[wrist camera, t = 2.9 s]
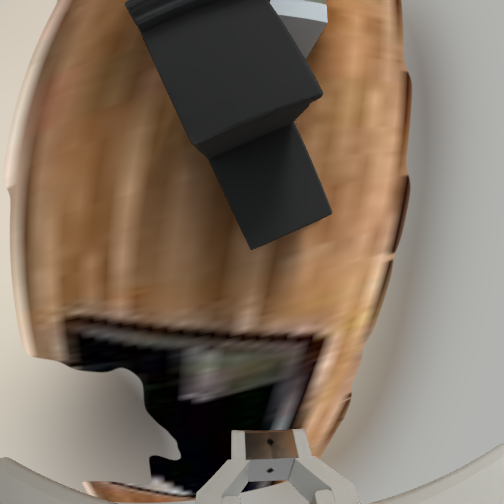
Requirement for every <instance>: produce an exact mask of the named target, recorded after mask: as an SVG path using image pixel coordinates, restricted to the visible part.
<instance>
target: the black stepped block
mask: <svg viewBox="0 0 504 504" xmlns="http://www.w3.org/2000/svg"><path fill="white" fill-rule="evenodd" d="M125 6H126V8H127V9H128V11H129V14H130V15H131V17H132V19H133V20H134V22H135V23H136V25H137V26H138V28H139V30H140V31H141V34H142V36H143V39H144V41H145V43H146V46H147V48H148V50H149V52H150V54H151V57H152V59H153V61H154V63H155V65H156V68H157V70H158V72H159V75H160V77H161V79H162V81H163V83H164V85H165V88H166V90H167V92H168V94H169V97H170V99H171V101H172V103H173V105H174V107H175V109H176V112H177V114H178V116H179V118H180V120H181V122H182V124H183V127H184V129H185V131H186V133H187V135H188V137H189V139H190V141H191V143H192V144H193V145H194V146H195V147H196V148H197V149H198V150H199V151H200V152H201V153H203V154H204V155H205V156H206V157H207V158H208V160H209V162H210V164H211V166H212V168H213V170H214V173H215V175H216V177H217V179H218V181H219V183H220V185H221V187H222V190H223V192H224V194H225V196H226V198H227V200H228V202H229V205H230V207H231V209H232V211H233V213H234V215H235V217H236V219H237V222H238V224H239V226H240V228H241V230H242V232H243V234H244V236H245V239H246V241H247V243H248V245H249V247H250V249H251V250H253V249H256V248H258V247H260V246H262V245H265V244H267V243H269V242H271V241H274V240H276V239H278V238H280V237H282V236H285V235H287V234H289V233H291V232H293V231H296V230H298V229H300V228H302V227H304V226H307V225H309V224H311V223H313V222H316V221H318V220H320V219H322V218H324V217H327V216H329V215H331V214H332V210H331V207H330V205H329V202H328V200H327V197H326V195H325V192H324V190H323V187H322V185H321V182H320V180H319V177H318V175H317V172H316V170H315V168H314V165H313V163H312V161H311V158H310V156H309V154H308V152H307V149H306V147H305V145H304V143H303V141H302V138H301V136H300V134H299V132H298V130H297V128H296V125H295V123H294V120H295V119H296V118H297V117H298V116H299V115H300V114H301V113H302V112H303V111H304V110H305V109H306V108H307V107H308V106H309V104H310V103H311V102H312V101H315V100H317V99H319V98H320V97H321V96H322V95H323V91H322V89H321V87H320V86H319V84H318V82H317V80H316V78H315V76H314V74H313V72H312V71H311V69H310V67H309V65H308V63H307V61H306V60H305V58H304V56H303V54H302V53H301V51H300V49H299V47H298V46H297V44H296V42H295V41H294V39H293V37H292V36H291V34H290V33H289V31H288V29H287V28H286V26H285V25H284V23H283V21H282V20H281V19H280V17H279V15H278V14H277V12H276V11H275V10H274V8H273V7H272V5H271V4H270V0H129V1H127V2H125Z"/></svg>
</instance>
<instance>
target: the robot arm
mask: <svg viewBox="0 0 504 504" xmlns="http://www.w3.org/2000/svg"><path fill="white" fill-rule="evenodd" d="M274 480H288V481H289V482H290V483H291V484H292V485H293V486H294V487H295V488H296V489H297V490H298V491H299V492H300V493H301V494H302V495H303V496H304V497H305V498H306V499H307V500H308V501H309V502H310V504H360V501H359V498H358V496H357V493H356V490H355V488H354V485H353V483H351V482H350V481H348V480H347V479H345V478H344V477H343V476H341V475H340V474H338V473H337V472H336V471H334V470H333V469H332V468H330V467H329V466H328V465H326V464H325V463H324V462H322V461H321V460H320V459H318V458H317V457H316V456H312V454H311V451H310V447H309V443H308V440H307V436H306V432H305V430H304V429H292V430H291V429H289V430H271V431H238V430H232V443H231V460H227V461H226V463H225V464H224V465H223V466H222V467H221V468H220V469H219V470H218V471H217V472H216V473H215V474H214V476H213V477H212V478H211V479H210V480H209V481H208V482H207V483H206V484H205V485H204V486H203V487H202V488H201V489H200V490H199V491H198V492H197V494H196V504H241V498H239V497H238V495H239V494H240V493H241V491H242V490H243V488H244V487H245V486H246V484H247V483H248V482H249V481H274ZM0 504H117V503H113V502H110V501H106V500H103V499H100V498H97V497H94V496H91V495H88V494H85V493H82V492H80V491H77V490H75V489H72V488H69V487H67V486H64V485H62V484H60V483H57V482H55V481H53V480H51V479H49V478H46V477H44V476H42V475H40V474H38V473H36V472H34V471H32V470H30V469H28V468H27V467H25V466H23V465H21V464H19V463H18V462H16V461H14V460H12V459H10V458H7V457H5V458H0ZM370 504H504V444H500V445H498V446H497V447H495V448H494V449H492V450H490V451H489V452H487V453H486V454H484V455H482V456H481V457H479V458H477V459H475V460H474V461H472V462H470V463H468V464H467V465H465V466H463V467H461V468H459V469H457V470H455V471H453V472H451V473H449V474H447V475H445V476H443V477H441V478H439V479H436V480H434V481H432V482H430V483H427V484H425V485H422V486H420V487H418V488H415V489H412V490H410V491H407V492H404V493H402V494H399V495H396V496H393V497H390V498H387V499H384V500H380V501H377V502H374V503H370Z"/></svg>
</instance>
